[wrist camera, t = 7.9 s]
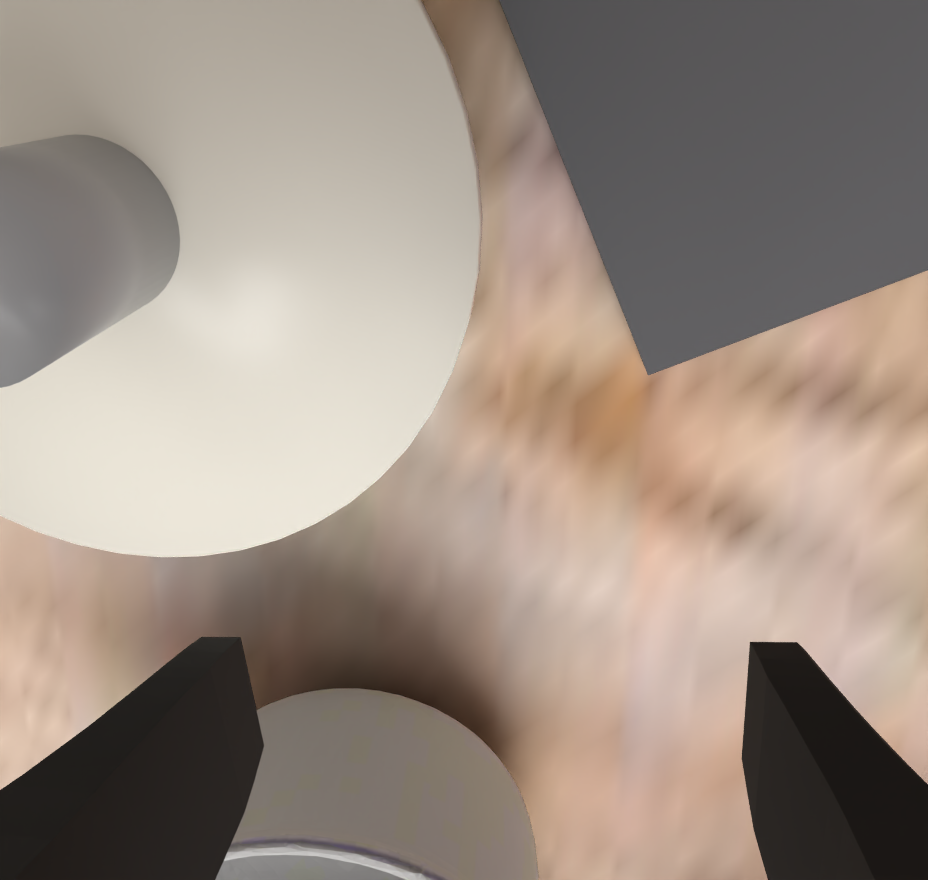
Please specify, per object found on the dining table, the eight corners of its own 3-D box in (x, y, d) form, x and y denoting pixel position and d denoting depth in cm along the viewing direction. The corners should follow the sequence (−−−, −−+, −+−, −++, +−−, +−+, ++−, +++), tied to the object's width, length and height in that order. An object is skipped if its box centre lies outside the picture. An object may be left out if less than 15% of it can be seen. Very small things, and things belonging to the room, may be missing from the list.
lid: (245, -439, 12) (70, -702, 8) (594, 412, 17) (604, 538, 13) (-400, 12, 16) (-763, 0, 12) (37, 611, 21) (-104, 761, 16)
